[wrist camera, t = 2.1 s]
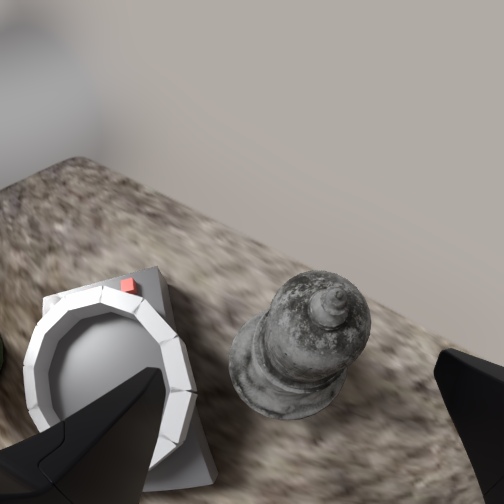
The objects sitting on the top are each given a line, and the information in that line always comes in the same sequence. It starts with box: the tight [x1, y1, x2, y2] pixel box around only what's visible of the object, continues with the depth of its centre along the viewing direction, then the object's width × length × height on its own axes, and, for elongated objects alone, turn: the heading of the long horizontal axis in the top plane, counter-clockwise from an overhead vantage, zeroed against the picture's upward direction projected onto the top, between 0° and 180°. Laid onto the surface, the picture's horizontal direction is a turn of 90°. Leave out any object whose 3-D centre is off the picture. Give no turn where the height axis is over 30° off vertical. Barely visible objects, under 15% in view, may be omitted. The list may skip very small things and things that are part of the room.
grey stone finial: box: [229, 271, 371, 420], centre depth 11 cm, size 6×6×12 cm
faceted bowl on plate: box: [23, 266, 218, 492], centre depth 13 cm, size 13×10×4 cm
